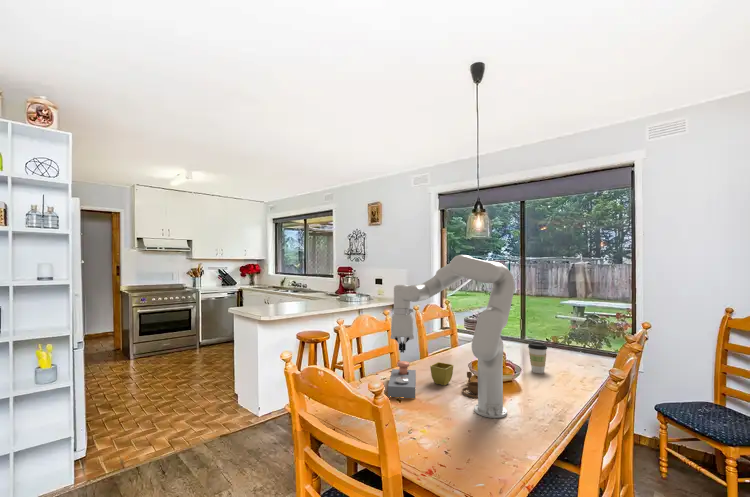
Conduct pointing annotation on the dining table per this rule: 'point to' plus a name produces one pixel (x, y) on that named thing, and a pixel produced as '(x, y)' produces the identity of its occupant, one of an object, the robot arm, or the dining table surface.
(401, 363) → the terracotta plunger
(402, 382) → the metal plunger
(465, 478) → the dining table surface
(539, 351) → the coffee cup
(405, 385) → the block
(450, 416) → the dining table surface
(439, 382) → the flower pot
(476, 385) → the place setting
